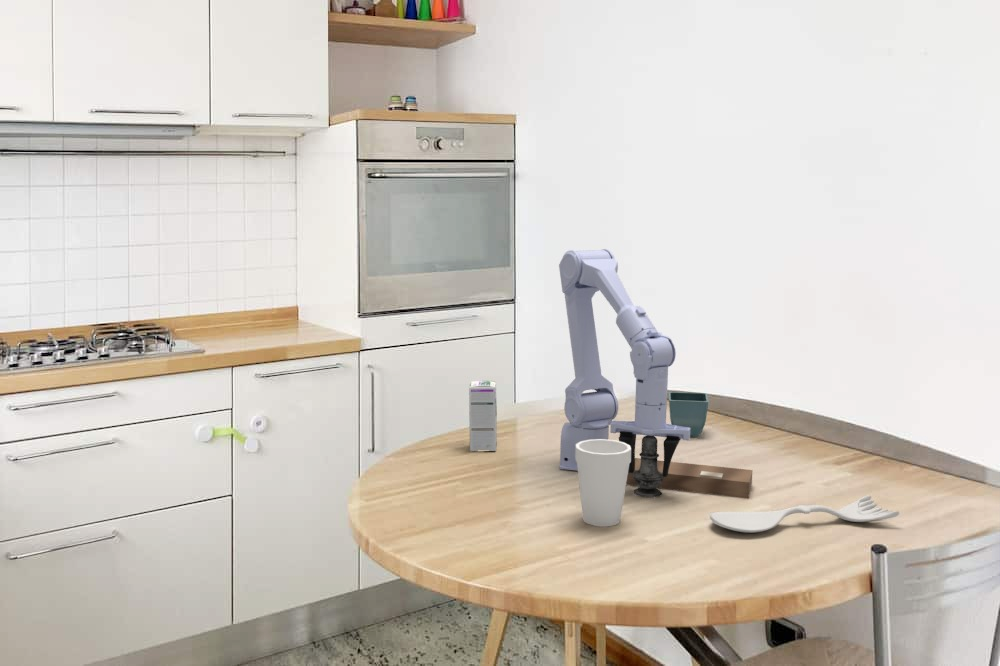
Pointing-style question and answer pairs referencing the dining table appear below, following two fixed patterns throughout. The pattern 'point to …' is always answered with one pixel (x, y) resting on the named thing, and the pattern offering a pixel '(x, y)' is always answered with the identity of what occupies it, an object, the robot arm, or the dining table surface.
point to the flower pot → (688, 410)
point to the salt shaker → (648, 470)
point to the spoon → (769, 519)
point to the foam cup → (602, 479)
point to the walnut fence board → (702, 479)
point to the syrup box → (483, 415)
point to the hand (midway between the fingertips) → (648, 473)
